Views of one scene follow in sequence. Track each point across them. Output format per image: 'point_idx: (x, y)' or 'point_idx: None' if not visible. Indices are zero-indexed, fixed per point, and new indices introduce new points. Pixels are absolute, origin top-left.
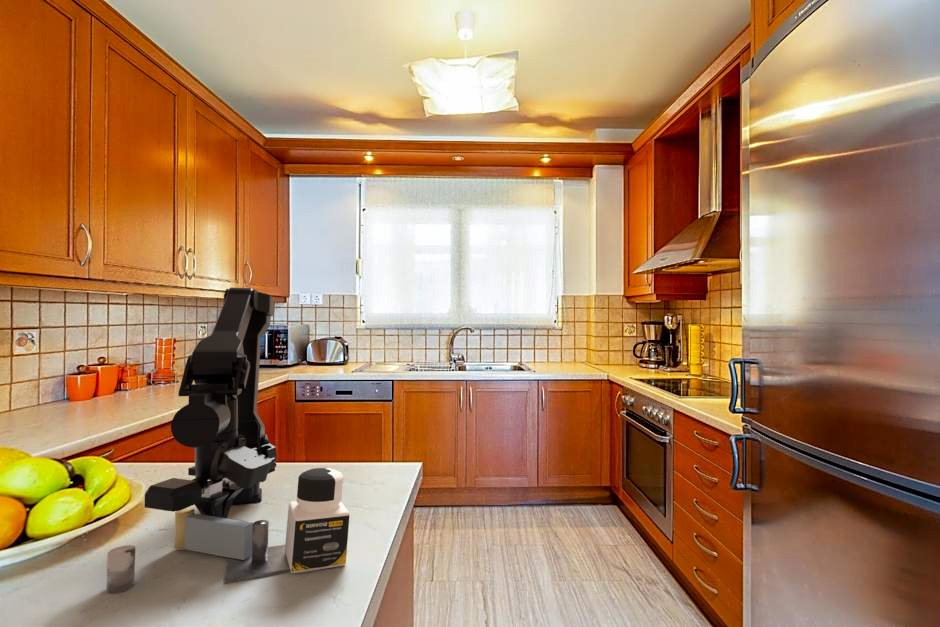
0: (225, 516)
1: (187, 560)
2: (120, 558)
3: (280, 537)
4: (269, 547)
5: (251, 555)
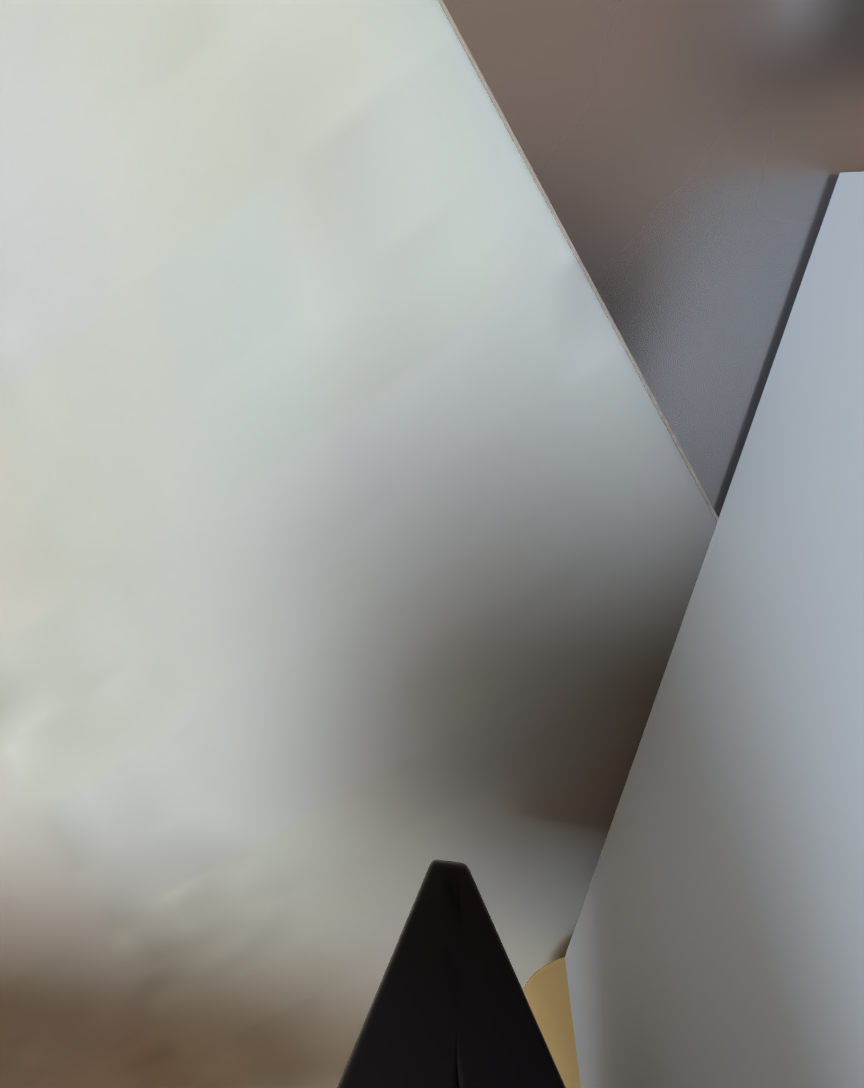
0: (391, 1079)
1: None
2: None
3: (36, 184)
4: (496, 59)
5: (851, 173)
